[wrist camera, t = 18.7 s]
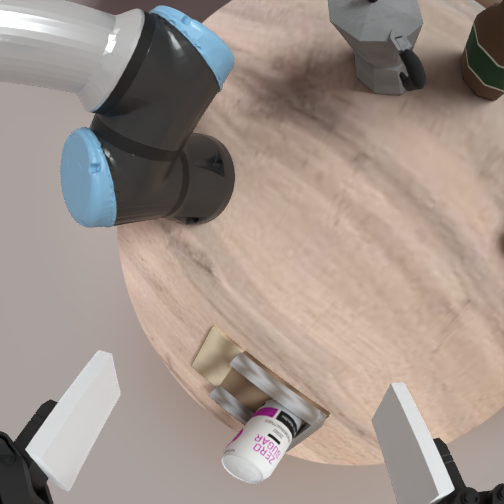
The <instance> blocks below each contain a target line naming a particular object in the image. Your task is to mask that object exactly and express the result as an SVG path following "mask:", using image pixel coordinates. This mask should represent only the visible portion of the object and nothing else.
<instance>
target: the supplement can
mask: <svg viewBox="0 0 504 504" xmlns="http://www.w3.org/2000/svg"><path fill="white" fill-rule="evenodd" d="M301 424H302V419H301V418H300V417H298V416H297V415H295V414H294V413H292V412H291V411H290V410H288V409H287V408H285V407H284V406H283V405H281V404H280V403H278V402H277V401H276V400H274V399H271V400H268V401H265V402H264V403H263V404H262V405H261V406H260V408H259V409H258V410H257V411H256V413H255V414H254V415H253V416H252V418H251V419H250V420H249V421H248V422H247V424H246V425H245V426H244V427H243V428H242V430H241V431H240V432H239V433H238V434H237V436H236V437H235V438H234V439H233V440H232V441H231V443H230V444H229V445H228V446H227V447H226V448H225V449H224V453H223V458H222V464H223V467H224V468H225V469H226V470H227V471H228V472H229V473H230V474H231V475H232V476H234V477H236V478H237V479H239V480H242V481H244V482H248V483H259V482H261V481H262V480H264V479H266V478H268V477H270V475H271V474H272V472H273V470H274V469H275V468H276V466H277V465H278V463H279V461H280V460H281V458H282V457H283V455H284V454H285V452H286V450H287V449H288V447H289V445H290V444H291V442H292V440H293V439H294V437H295V435H296V433H297V432H298V430H299V428H300V426H301Z"/></svg>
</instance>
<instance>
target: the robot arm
mask: <svg viewBox="0 0 504 504" xmlns="http://www.w3.org/2000/svg"><path fill="white" fill-rule="evenodd" d="M233 66H234V55H233V53H232V51H231V49H230V48H229V47H228V46H227V44H226V43H225V42H224V41H223V40H222V39H220V38H219V37H218V36H217V35H216V34H215V33H213V32H212V31H211V30H210V29H208V28H207V27H205V26H204V25H203V24H201V23H199V22H198V21H196V20H193V19H190V17H188V16H186V15H185V14H184V13H182V12H180V11H178V10H176V9H173V8H171V7H167V6H157V7H156V8H154V9H153V10H151V11H150V13H147V12H144V11H142V10H140V9H134V10H130V11H128V12H125V13H122V14H119V15H115V16H114V15H111V14H108V13H105V12H102V11H99V10H96V9H93V8H90V7H86V6H83V5H79V4H75V3H72V2H68V1H64V0H0V82H7V83H16V84H23V85H30V86H37V87H43V88H49V89H55V90H60V91H65V92H70V93H75V94H77V95H78V97H79V99H80V101H81V103H82V105H83V107H84V109H85V110H86V111H88V112H92V113H96V114H95V116H94V118H93V121H92V123H91V125H90V127H89V128H87V127H82V128H80V129H76V130H74V131H73V132H72V133H71V135H69V137H68V138H67V140H66V142H65V145H64V148H63V152H62V158H61V171H60V172H61V186H62V192H63V196H64V200H65V203H66V205H67V208H68V210H69V212H70V214H71V215H72V217H73V218H74V220H75V221H76V222H77V223H79V224H80V225H82V226H84V227H103V226H104V227H111V226H116V225H121V224H127V223H133V222H139V221H145V220H151V219H157V218H166V219H169V220H173V221H176V222H179V223H182V224H187V225H195V224H201V223H206V222H209V221H211V220H213V219H214V218H216V217H217V216H218V215H219V214H220V213H221V212H222V211H223V210H224V209H225V207H226V206H227V204H228V202H229V200H230V198H231V195H232V192H233V188H234V180H235V173H234V166H233V162H232V159H231V156H230V154H229V152H228V150H227V149H226V147H225V146H224V145H223V144H222V143H221V142H220V141H219V140H217V139H216V138H214V137H211V136H208V135H204V134H200V133H192V132H193V130H194V129H195V127H196V125H197V124H198V122H199V120H200V119H201V117H202V116H203V114H204V112H205V111H206V109H207V108H208V106H209V105H210V103H211V102H212V100H213V99H214V97H215V96H216V94H217V93H218V92H220V91H221V90H222V87H223V83H224V81H225V80H226V78H227V77H228V75H229V73H230V72H231V70H232V69H233ZM120 395H121V392H120V388H119V384H118V380H117V375H116V371H115V366H114V361H113V356H112V354H111V353H107V352H103V351H100V350H98V351H97V353H96V354H95V355H94V356H93V358H92V359H91V360H90V362H89V363H88V364H87V365H86V366H85V368H84V369H83V370H82V372H81V373H80V374H79V376H78V377H77V378H76V379H75V381H74V382H73V383H72V385H71V386H70V387H69V389H68V390H67V391H66V393H65V394H64V395H63V397H62V398H61V399H60V401H59V402H55V401H53V400H49V401H47V402H45V403H44V404H42V405H41V406H40V408H39V409H38V410H37V412H36V414H34V416H33V417H32V418H31V421H29V422H28V424H27V425H26V426H25V428H24V429H23V430H22V432H21V433H20V435H19V436H18V437H17V439H16V441H14V442H13V441H12V440H11V439H10V437H9V436H8V435H7V434H6V433H4V432H1V431H0V504H53V501H52V497H51V494H50V491H49V488H48V485H47V483H46V482H47V480H48V478H49V479H50V480H51V481H52V483H53V484H54V485H56V486H58V487H60V488H62V489H64V490H66V491H68V492H69V491H70V489H71V487H72V485H73V483H74V481H75V479H76V477H77V475H78V473H79V471H80V469H81V467H82V465H83V463H84V461H85V459H86V457H87V455H88V453H89V451H90V449H91V448H92V446H93V444H94V442H95V440H96V438H97V437H98V435H99V433H100V431H101V429H102V427H103V425H104V424H105V422H106V420H107V418H108V416H109V414H110V413H111V410H112V409H113V407H114V405H115V404H116V402H117V400H118V398H119V396H120ZM372 423H373V426H374V429H375V432H376V435H377V438H378V441H379V444H380V447H381V450H382V453H383V457H384V460H385V463H386V466H387V469H388V473H389V476H390V479H391V483H392V486H393V490H394V493H395V497H396V500H397V504H504V484H503V483H502V484H499V485H497V486H496V487H495V488H494V489H493V490H491V491H483V492H477V491H476V490H475V489H473V488H470V487H466V486H465V484H464V482H463V480H462V478H461V475H460V473H459V471H458V469H457V466H456V464H455V462H453V458H452V456H451V455H450V451H449V450H448V447H447V445H446V444H445V443H444V442H443V441H442V440H441V439H440V438H436V439H432V437H431V435H430V433H429V431H428V429H427V427H426V425H425V422H424V420H423V418H422V416H421V414H420V412H419V410H418V409H417V407H416V405H415V403H414V401H413V399H412V397H411V395H410V393H409V391H408V389H407V387H406V386H405V384H404V382H402V383H391V384H390V386H389V388H388V390H387V392H386V394H385V396H384V398H383V400H382V402H381V404H380V405H379V407H378V409H377V411H376V413H375V415H374V416H373V418H372Z"/></svg>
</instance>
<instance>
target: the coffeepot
mask: <svg viewBox="0 0 504 504" xmlns="http://www.w3.org/2000/svg"><path fill="white" fill-rule="evenodd" d="M328 7H329V17H330V22H331V23H332V24H333V25H334V26H335V27H336V29H337V30H338V31H339V32H340V33H341V35H342V36H343V37H344V38H345V40H346V41H347V42H348V44H349V45H350V46H351V47H352V48H353V49H354V55H355V69H356V77H357V78H358V79H359V80H361V81H362V82H363V83H364V84H365V85H366V86H367V87H368V88H370V89H371V90H372V91H373V92H374V93H378V94H386V95H401V94H403V93H404V92H405V91H406V90H407V91H412V90H416V89H421V88H423V87H424V86H425V84H426V75H425V72H424V69H423V66H422V63H421V61H420V60H419V58H418V57H417V55H416V54H415V53H414V52H413V51H412V50H413V48H414V45H415V43H416V40H417V38H418V35H419V32H420V30H421V27H422V24H423V20H422V16H421V12H420V9H419V5H418V2H417V0H328Z"/></svg>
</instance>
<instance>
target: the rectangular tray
mask: <svg viewBox="0 0 504 504" xmlns="http://www.w3.org/2000/svg"><path fill="white" fill-rule="evenodd" d="M192 367H193V368H194V369H195V370H197V371H198V372H199V373H200V374H201V375H202V376H203V377H205V378H206V379H207V380H208V381H209V382H210V383H211V384H213V385H214V386H215V387H216V388H215V389H214V390H213V391H211V392H210V394H209V395H208V396H209V397H210V398H211V399H213V400H214V401H215V402H216V403H217V404H219V405H220V406H221V407H222V408H224V409H225V410H226V411H227V412H228V413H230V414H231V415H232V416H234V417H235V418H236V419H237V420H239V421H240V422H241V423H243V424H244V425H246V424H247V422H248V421H249V420H250V419H251V418H252V416H253V415H254V414H255V413H256V411H257V410H258V409H259V408H260V406H261V405H262V404H263V403H264V402H265V401H268V400H271V399H274V400H276V401H277V402H278V403H280V404H281V405H283V406H284V407H285V408H287V409H288V410H290V411H291V412H292V413H294V414H295V415H297V416H298V417H300V418H301V419H302V424H301V426H300V428H299V430H298V432H297V433H296V435H295V437H294V439H293V440H292V442H291V444H290V445H289V447H288V449H287V450H286V452H287V451H289V450H290V449H292V448H293V447H295V446H296V445H297V444H299V443H300V442H302V441H303V440H304V439H306V438H307V437H309V436H310V435H311V434H313V433H314V432H315V431H317V430H318V429H319V428H320V427H322V425H323V423H324V421H325V419H326V418H327V417H329V415H330V412H328V411H327V410H325V409H324V408H322V407H321V406H319V405H318V404H316V403H315V402H314V401H312V400H311V399H309V398H308V397H306V396H305V395H304V394H302V393H301V392H299V391H298V390H297V389H295V388H294V387H292V386H291V385H290V384H288V383H287V382H286V381H284V380H283V379H282V378H280V377H279V376H278V375H276V374H275V373H274V372H272V371H271V370H270V369H268V368H267V367H266V366H264V365H263V364H262V363H261V362H259V361H258V360H257V359H255V358H254V357H253V356H252V355H250V354H249V353H248V352H247V351H245V350H244V349H243V348H241V347H240V346H239V345H238V344H237V343H235V342H234V341H233V340H232V339H230V338H229V337H228V336H227V335H226V334H224V333H223V332H222V331H221V330H220V329H218V328H217V327H216V326H214V327H212V328H211V330H210V332H209V334H208V336H207V338H206V340H205V342H204V343H203V345H202V347H201V349H200V351H199V353H198V355H197V357H196V359H195V360H194V362H193V364H192ZM286 452H285V453H286Z"/></svg>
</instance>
